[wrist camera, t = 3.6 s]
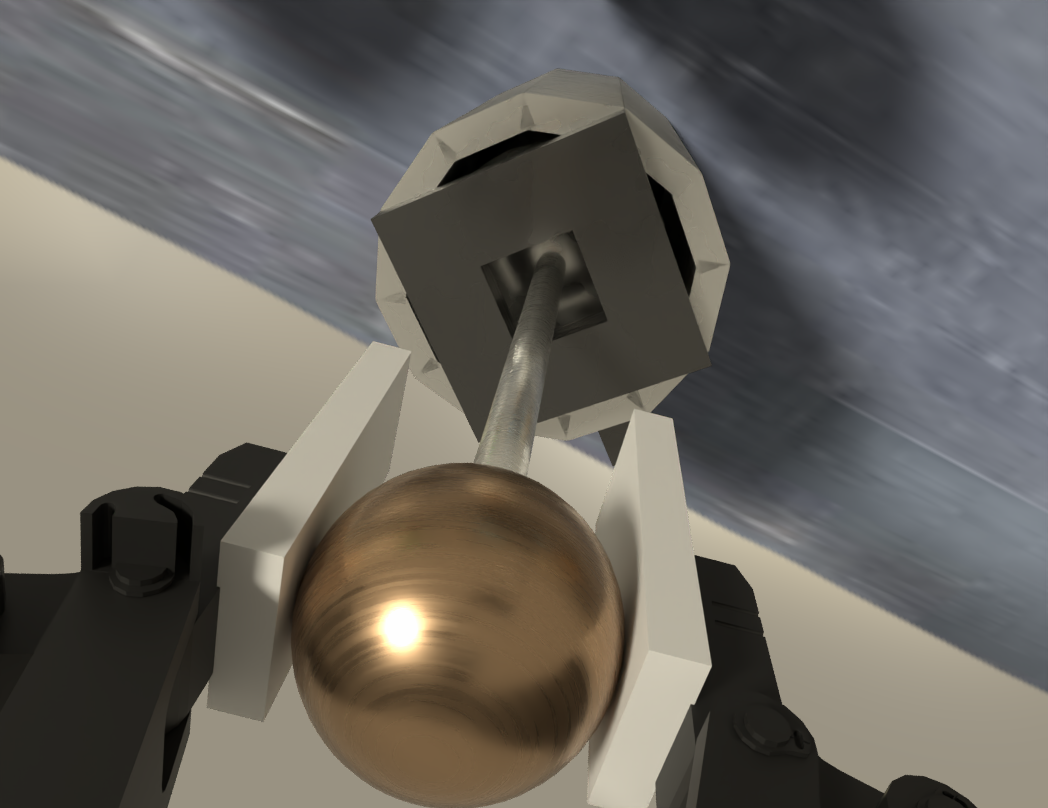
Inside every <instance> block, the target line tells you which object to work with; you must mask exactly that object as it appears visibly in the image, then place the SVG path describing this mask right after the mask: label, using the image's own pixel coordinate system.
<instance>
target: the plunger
mask: <svg viewBox="0 0 1048 808" xmlns="http://www.w3.org/2000/svg"><path fill="white" fill-rule="evenodd" d="M541 143H544V142H536V143H531V144H526V145H521V146H518V147H516V148H513V149H510V150H507V151H505V152H503V153H501V154H499V155H497V156H495V157H493V158H492V159H491V160H489V161H488V162H486V163H485V164H483V165H482V166H481V167H479V168H478V169H477V170H480V169H482V168H484V167H487V166H489V165H491V164H494V163H496V162H499V161H501V160H503V159H506V158H508V157H510V156H513V155H515V154H518V153H520V152H522V151H525V150H527V149H529V148H532V147H534V146H536V145H539V144H541ZM477 170H476V171H477ZM657 206H658V205H657ZM658 209H659V208H658ZM659 211H660V210H659ZM660 214H661V212H660ZM661 217H662V215H661ZM662 220H663V217H662ZM663 223H664V220H663ZM664 226H665V223H664ZM665 229H666V227H665ZM666 232H667V231H666ZM489 265H490V267H491V270H492V272H493V274H494V276H495V279H496V281H497V283H498V286H499V288H500V290H501V293H502V295H503V297H504V299H505V302H506V304H507V306H508V309H509V311H510V313H511V316H512V318H513V320H514V322H515V325H516V327H517V328H516V331H515V334H514V337H513V340H512V343H511V347H510V350H509V353H508V356H507V359H506V362H505V366H504V369H503V372H502V375H501V378H500V381H499V384H498V388H497V391H496V394H495V397H494V400H493V403H492V407H491V410H490V413H489V416H488V419H487V422H486V426H485V429H484V432H483V435H482V438H481V441H480V444H479V448H478V451H477V454H476V457H475V460H474V463H449V464H441V465H434V466H429V467H424V468H421V469H417V470H413V471H409V472H407V473H404V474H402V475H399V476H397V477H394V478H392V479H390V480H388V481H387V482H385V483H383V484H381V485H380V486H378V487H376V488H374V489H373V490H371V491H369V492H367V493H366V494H365V495H364V496H362V497H361V498H360V499H359V500H357V501H356V502H355V503H353V504H352V505H351V506H350V507H349V508H348V509H347V510H346V511H345V512H344V513H343V514H342V515H341V516H340V517H339V518H338V519H337V520H336V521H335V522H334V523H333V524H332V526H331V527H330V529H329V530H328V531H327V533H326V534H325V536H324V537H323V539H322V540H321V542H320V543H319V545H318V546H317V547H316V549H315V550H314V552H313V555H312V557H311V559H310V561H309V563H308V566H307V568H306V570H305V572H304V574H303V577H302V579H301V582H300V586H299V589H298V593H297V597H296V601H295V605H294V610H293V617H292V629H291V652H292V662H293V669H294V675H295V679H296V683H297V688H298V692H299V694H300V697H301V699H302V702H303V704H304V707H305V709H306V712H307V714H308V717H309V719H310V721H311V723H312V724H313V726H314V728H315V729H316V731H317V733H318V734H319V736H320V737H321V738H322V740H323V741H324V743H325V744H326V746H327V747H328V748H329V749H330V751H331V752H332V753H333V755H334V756H335V757H336V758H337V759H338V760H339V761H340V762H341V763H342V764H343V765H345V767H347V768H348V769H349V770H350V771H352V772H353V773H354V774H355V775H356V776H358V777H359V778H360V779H362V780H363V781H365V782H366V783H368V784H369V785H370V786H372V787H374V788H375V789H377V790H379V791H381V792H383V793H385V794H387V795H389V796H392V797H394V798H396V799H399V800H402V801H405V802H409V803H411V804H416V805H420V806H424V807H430V808H476V807H483V806H488V805H493V804H496V803H500V802H504V801H507V800H510V799H512V798H515V797H518V796H520V795H522V794H524V793H526V792H527V791H529V790H531V789H533V788H535V787H537V786H539V785H541V784H543V783H544V782H546V781H547V780H548V779H550V778H551V777H553V776H554V775H555V774H557V773H558V772H559V771H560V770H561V769H562V768H564V767H565V766H566V765H567V764H568V763H569V762H570V761H571V760H572V759H573V758H574V757H575V756H576V755H577V754H578V753H579V752H580V751H581V750H582V748H583V747H584V745H585V744H586V743H587V742H588V740H589V739H590V738H591V736H592V735H593V734H594V732H595V731H596V730H597V729H598V727H599V725H600V723H601V721H602V719H603V717H604V715H605V713H606V711H607V709H608V707H609V705H610V703H611V701H612V699H613V696H614V693H615V690H616V687H617V683H618V680H619V676H620V672H621V668H622V662H623V655H624V645H625V618H624V610H623V603H622V598H621V592H620V588H619V585H618V582H617V579H616V576H615V573H614V570H613V567H612V565H611V562H610V559H609V557H608V555H607V554H606V552H605V550H604V548H603V546H602V544H601V543H600V541H599V539H598V538H597V536H596V535H595V533H594V532H593V531H592V529H591V528H590V527H589V525H588V524H587V522H586V521H585V520H584V519H583V518H582V517H581V516H580V515H579V514H578V513H577V512H576V510H575V509H574V508H573V507H572V506H570V505H569V504H568V503H566V502H565V501H564V500H563V499H562V498H561V497H559V496H558V495H557V494H556V493H554V492H553V491H551V490H550V489H548V488H547V487H545V486H543V485H542V484H540V483H539V482H536V481H535V480H532V479H530V478H528V477H527V472H528V467H529V462H530V457H531V451H532V445H533V441H534V435H535V430H536V425H537V419H538V414H539V409H540V403H541V398H542V393H543V387H544V382H545V377H546V372H547V366H548V361H549V356H550V350H551V345H552V340H553V334H554V329H555V328H556V327H559V326H562V325H564V324H567V323H570V322H573V321H576V320H578V319H581V318H584V317H587V316H590V315H592V314H595V313H598V312H601V311H603V307H602V305H601V302H600V299H599V297H598V294H597V292H596V289H595V287H594V284H593V281H592V279H591V276H590V274H589V271H588V269H587V266H586V263H585V261H584V258H583V256H582V253H581V251H580V248H579V245H578V243H577V240H576V238H575V235H574V232H573V230H572V231H569V232H567V233H564V234H562V235H559V236H556V237H554V238H551V239H549V240H546V241H544V242H541V243H538V244H536V245H533V246H531V247H528V248H526V249H523V250H521V251H518V252H515V253H513V254H510V255H508V256H505V257H503V258H500V259H497V260H495V261H492V262H490V263H489Z"/></svg>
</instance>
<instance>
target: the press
mask: <svg viewBox="0 0 1048 808" xmlns="http://www.w3.org/2000/svg"><path fill="white" fill-rule="evenodd" d="M536 142H544V143H541V144H539V145H536V146H534V147H532V148H529V149H527V150H525V151H522V152H520V153H518V154H515V155H513V156H510V157H508V158H506V159H503V160H501V161H499V162H496V163H494V164H491V165H489V166H487V167H484V168H482V169H480V170H477V169H478V168H479V167H481V166H482V165H483V164H485V163H486V162H488V161H489V160H491V159H492V158H493V157H495V156H497V155H499V154H501V153H503V152H505V151H507V150H510V149H513V148H516V147H518V146H521V145H526V144H531V143H536ZM476 170H477V171H476ZM657 205H658V206H657ZM658 208H659V209H658ZM659 210H660V211H659ZM660 212H661V214H660ZM661 215H662V217H663V220H664V223H665V226H664V223H663V220H662V217H661ZM371 221H372V223H373V225H374V227H375V229H376V231H377V233H378V236H379V240H378V260H377V280H376V302H377V304H378V306H379V308H380V310H381V312H382V314H383V316H384V318H385V320H386V322H387V324H388V326H389V328H390V330H391V332H392V334H393V336H394V338H395V340H396V342H397V344H398V346H399V348H401V349H405V350H409V351H412V352H411V357H410V363H409V368H410V370H411V372H412V374H413V376H414V377H415V376H416V377H415V378H416V379H417V380H418V381H420V382H421V383H422V384H424V385H425V386H427V387H428V388H429V389H431V390H432V391H433V392H435V393H436V394H438V395H439V396H440V397H442V398H443V399H445V400H446V401H447V402H449V403H450V404H452V405H453V406H454V407H456V408H457V409H458V410H460V411H461V412H463V413H464V414H465V416H466V418H467V420H468V422H469V424H470V426H471V428H472V430H473V432H474V434H475V436H476V438H477V440H478V442H480V441H481V438H482V435H483V432H484V429H485V426H486V422H487V419H488V416H489V413H490V410H491V407H492V403H493V400H494V397H495V394H496V391H497V388H498V384H499V381H500V378H501V375H502V372H503V369H504V366H505V362H506V359H507V356H508V353H509V350H510V347H511V343H512V340H513V337H514V334H515V331H516V328H517V327H516V325H515V322H514V320H513V318H512V316H511V313H510V311H509V309H508V306H507V304H506V302H505V299H504V297H503V295H502V293H501V290H500V288H499V286H498V283H497V281H496V279H495V276H494V274H493V272H492V270H491V267H490V265H489V263H490V262H492V261H495V260H497V259H500V258H503V257H505V256H508V255H510V254H513V253H515V252H518V251H521V250H523V249H526V248H528V247H531V246H533V245H536V244H538V243H541V242H544V241H546V240H549V239H551V238H554V237H556V236H559V235H562V234H564V233H567V232H569V231H572V230H573V232H574V235H575V238H576V240H577V243H578V245H579V248H580V251H581V253H582V256H583V258H584V261H585V263H586V266H587V269H588V271H589V274H590V276H591V279H592V281H593V284H594V287H595V289H596V292H597V294H598V297H599V299H600V302H601V305H602V307H603V311H601V312H598V313H595V314H592V315H590V316H587V317H584V318H581V319H578V320H576V321H573V322H570V323H567V324H564V325H562V326H559V327H556V328H555V329H554V334H553V340H552V345H551V350H550V356H549V361H548V366H547V372H546V377H545V382H544V387H543V393H542V398H541V403H540V409H539V414H538V419H537V425H536V430H535V435H534V436H540V437H546V438H552V439H558V440H564V441H566V439H567V441H568V440H571V439H574V438H578V437H581V436H584V435H587V434H590V433H593V432H596V431H598V432H599V434H600V437H601V439H602V442H603V444H604V446H605V449H606V451H607V454H608V456H609V458H610V461H611V463H612V466H615V465H616V462H617V459H618V456H619V453H620V450H621V447H622V444H623V441H624V438H625V435H626V432H627V429H628V426H629V423H630V420H631V417H632V414H633V411H634V409H637V410H641V411H645V412H649V413H650V412H651V411H652V410H653V409H654V408H655V407H656V406H657V405H658V404H659V403H660V402H661V401H662V400H663V399H664V398H665V397H666V396H667V395H668V394H669V393H670V392H671V391H672V390H673V389H674V388H675V387H676V386H677V384H678V383H679V382H680V381H681V380H682V379H683V378H684V377H685V376H686V375H687V374H688V373H692V372H695V371H698V370H701V369H704V368H707V367H710V366H712V365H711V361H710V358H709V355H708V351H709V349H710V345H711V341H712V337H713V333H714V329H715V325H716V321H717V317H718V312H719V308H720V304H721V300H722V296H723V292H724V288H725V284H726V280H727V276H728V272H729V268H730V261H729V258H728V255H727V251H726V248H725V245H724V242H723V239H722V236H721V232H720V229H719V226H718V223H717V220H716V217H715V214H714V210H713V207H712V204H711V201H710V198H709V195H708V192H707V188H706V185H705V182H704V179H703V176H702V173H701V171H700V170H699V168H698V167H697V165H696V163H695V162H694V160H693V159H692V157H691V156H690V154H689V152H688V151H687V149H686V148H685V146H684V145H683V143H682V141H681V140H680V138H679V137H678V135H677V133H676V132H675V130H674V129H673V127H672V126H671V124H670V122H669V121H668V119H667V118H666V117H665V116H664V115H663V114H661V113H660V112H659V111H658V110H657V109H656V108H654V107H653V106H652V105H651V104H650V103H649V102H647V101H646V100H645V99H644V98H643V97H642V96H640V95H639V94H638V93H637V92H636V91H635V90H633V89H632V88H631V87H630V86H629V85H628V84H626V83H625V82H624V81H623V80H622V79H621V78H619V77H613V76H606V75H599V74H593V73H586V72H579V71H572V70H565V69H555V70H552V71H550V72H548V73H546V74H543V75H541V76H539V77H537V78H534V79H532V80H530V81H528V82H525V83H523V84H521V85H519V86H516V87H514V88H512V89H510V90H507V91H505V92H503V93H501V94H499V95H497V96H495V97H494V98H492V99H490V100H488V101H487V102H485V103H483V104H482V105H480V106H478V107H476V108H475V109H473V110H471V111H469V112H468V113H466V114H464V115H462V116H461V117H459V118H457V119H456V120H454V121H452V122H450V123H449V124H447V125H445V126H443V127H442V128H440V129H438V130H436V131H435V132H434V133H432V134H431V136H430V137H429V139H428V140H427V142H426V143H425V145H424V146H423V148H422V149H421V151H420V152H419V154H418V155H417V157H416V158H415V160H414V161H413V162H412V164H411V165H410V167H409V168H408V170H407V171H406V173H405V174H404V176H403V177H402V179H401V180H400V182H399V183H398V185H397V186H396V188H395V189H394V191H393V192H392V194H391V195H390V196H389V198H388V199H387V201H386V202H385V204H384V205H383V207H382V208H381V211H380V212H379V213H378V214H377V215H375V216H374V217H373V218H372V219H371ZM665 227H666V229H665ZM666 231H667V232H666Z"/></svg>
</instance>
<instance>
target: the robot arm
mask: <svg viewBox="0 0 1048 808" xmlns="http://www.w3.org/2000/svg"><path fill="white" fill-rule="evenodd" d="M411 352H412V351H409V350H405V349H401V348H397V347H393V346H390V345H386V344H382V343H378V342H374V341H373V342H372V343H371V344H370V346H369V347H368V348H367V350H366V351H365V352H364V354H363V355H362V356H361V357H360V359H359V360H358V361H357V363H356V364H355V365H354V367H353V368H352V369H351V371H350V372H349V373H348V375H347V376H346V377H345V378H344V380H343V381H342V382H341V384H340V385H339V386H338V388H337V389H336V390H335V392H334V393H333V394H332V395H331V397H330V398H329V400H328V401H327V402H326V403H325V405H324V406H323V407H322V409H321V410H320V412H319V413H318V414H317V415H316V417H315V418H314V419H313V421H312V422H311V423H310V424H309V426H308V427H307V428H306V430H305V431H304V432H303V434H302V435H301V436H300V438H299V439H298V440H297V441H296V443H295V444H294V445H293V447H292V448H291V449H290V451H289V452H288V453H285V452H281V451H278V450H274V449H270V448H266V447H262V446H258V445H254V444H250V443H245V444H243V445H240V446H238V447H236V448H234V449H232V450H229V451H227V452H225V453H223V454H221V455H219V456H218V458H216V460H215V461H214V462H213V463H212V464H211V465H210V466H209V467H208V468H207V469H206V471H204V473H203V475H202V477H199V478H198V479H197V480H196V481H195V482H194V484H193V485H192V486H191V487H190V488H189V491H188V492H185V493H184V494H183V493H181V492H178V491H173V490H170V489H165V488H161V487H132V488H127V489H121V490H116V491H112V492H110V493H108V494H105V495H103V496H101V497H99V498H97V499H94V500H93V501H92V502H91V503H90V504H89V505H88V506H87V507H85V509H83V510H82V511H81V513H80V516H81V517H80V521H81V571H80V572H77V573H69V574H17V573H15V574H14V573H4V562H3V558H2V556H1V555H0V808H167V807H168V804H169V800H170V797H171V794H172V790H173V787H174V783H175V781H176V777H177V774H178V770H179V767H180V764H181V760H182V757H183V754H184V751H185V747H186V744H187V741H188V737H189V734H190V719H191V708H192V706H193V705H194V703H195V702H196V700H197V698H198V697H199V695H200V694H201V692H202V690H203V689H204V687H205V685H206V684H207V682H208V681H209V688H208V700H207V708H210V709H214V710H218V711H222V712H226V713H230V714H234V715H238V716H242V717H246V718H250V719H254V720H258V721H261V722H263V721H264V720H265V718H266V716H267V713H268V712H269V709H270V708H271V706H272V704H273V702H274V699H275V698H276V696H277V694H278V692H279V690H280V688H281V686H282V684H283V682H284V680H285V678H286V676H287V674H288V672H289V670H290V668H291V666H292V664H293V662H292V652H291V629H292V617H293V610H294V605H295V601H296V597H297V593H298V589H299V586H300V582H301V579H302V577H303V574H304V572H305V570H306V568H307V566H308V563H309V561H310V559H311V557H312V555H313V552H314V550H315V549H316V547H317V546H318V545H319V543H320V542H321V540H322V539H323V537H324V536H325V534H326V533H327V531H328V530H329V529H330V527H331V526H332V524H333V523H334V522H335V521H336V520H337V519H338V518H339V517H340V516H341V515H342V514H343V513H344V512H345V511H346V510H347V509H348V508H349V507H350V506H351V505H352V504H353V503H355V502H356V501H357V500H359V499H360V498H361V497H362V496H364V495H365V494H366V493H367V492H369V491H371V490H373V489H374V488H376V487H378V486H380V485H381V484H383V482H384V480H385V478H386V476H387V474H388V472H389V469H390V463H391V458H392V453H393V448H394V442H395V437H396V431H397V426H398V421H399V416H400V410H401V405H402V400H403V395H404V389H405V383H406V378H407V373H408V368H409V363H410V357H411ZM595 531H596V532H595V535H596V536H597V538H598V539H599V541H600V543H601V544H602V546H603V548H604V550H605V552H606V554H607V555H608V557H609V559H610V562H611V565H612V567H613V570H614V573H615V576H616V579H617V582H618V585H619V588H620V592H621V598H622V603H623V610H624V618H625V645H624V655H623V662H622V668H621V672H620V676H619V680H618V683H617V687H616V690H615V693H614V696H613V699H612V701H611V703H610V705H609V707H608V709H607V711H606V713H605V715H604V717H603V719H602V721H601V723H600V725H599V727H598V729H597V730H596V731H595V732H594V734H593V735H592V736H591V738H590V739H589V756H588V757H589V758H588V789H587V804H591V805H595V806H599V807H603V808H647V807H648V805H649V803H650V801H651V799H652V796H653V794H654V792H655V790H656V803H657V808H977V807H976V806H975V805H974V804H973V803H972V802H970V801H969V799H967V798H966V797H964V796H962V795H961V794H959V793H958V792H956V791H955V790H953V789H952V788H950V787H949V786H947V785H945V784H943V783H940V782H938V781H935V780H932V779H930V778H927V777H924V776H913V775H904V776H902V777H900V778H898V779H896V780H894V781H892V782H891V784H890V785H889V787H888V788H887V790H886V792H885V793H882V792H880V791H878V790H877V789H875V788H873V787H871V786H869V785H867V784H865V783H863V782H861V781H859V780H857V779H855V778H853V777H851V776H849V775H847V774H846V773H844V772H842V771H840V770H838V769H837V768H835V767H833V766H832V765H830V764H828V763H827V762H825V761H824V760H822V759H821V758H820V757H819V756H818V752H817V748H816V745H815V741H814V738H813V737H812V735H811V734H810V732H809V731H808V729H807V728H806V726H805V725H804V723H803V722H802V721H801V720H800V719H799V718H798V717H797V716H796V715H795V714H793V713H792V712H791V711H790V710H789V709H788V708H787V707H786V706H784V705H782V702H781V699H780V695H779V690H778V687H777V682H776V678H775V674H774V671H773V667H772V663H771V659H770V655H769V651H768V647H767V643H766V639H765V637H763V633H764V631H763V627H762V623H761V620H760V617H758V614H759V612H758V607H757V604H756V600H755V596H754V592H753V589H752V587H751V586H750V585H749V583H748V582H747V581H746V580H745V578H744V577H743V575H742V574H741V573H740V571H739V570H738V569H737V567H736V566H735V565H731V564H727V563H723V562H720V561H716V560H712V559H708V558H704V557H700V556H696V555H694V550H693V544H692V537H691V532H690V525H689V519H688V512H687V506H686V500H685V493H684V487H683V481H682V474H681V468H680V462H679V456H678V449H677V443H676V437H675V430H674V424H673V419H672V418H668V417H664V416H661V415H657V414H653V413H649V412H645V411H641V410H637V409H634V411H633V414H632V417H631V420H630V423H629V426H628V429H627V432H626V435H625V438H624V441H623V444H622V447H621V450H620V453H619V456H618V459H617V462H616V465H615V468H614V471H613V474H612V477H611V480H610V483H609V486H608V489H607V492H606V495H605V498H604V501H603V504H602V507H601V510H600V513H599V516H598V519H597V522H596V530H595Z"/></svg>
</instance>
